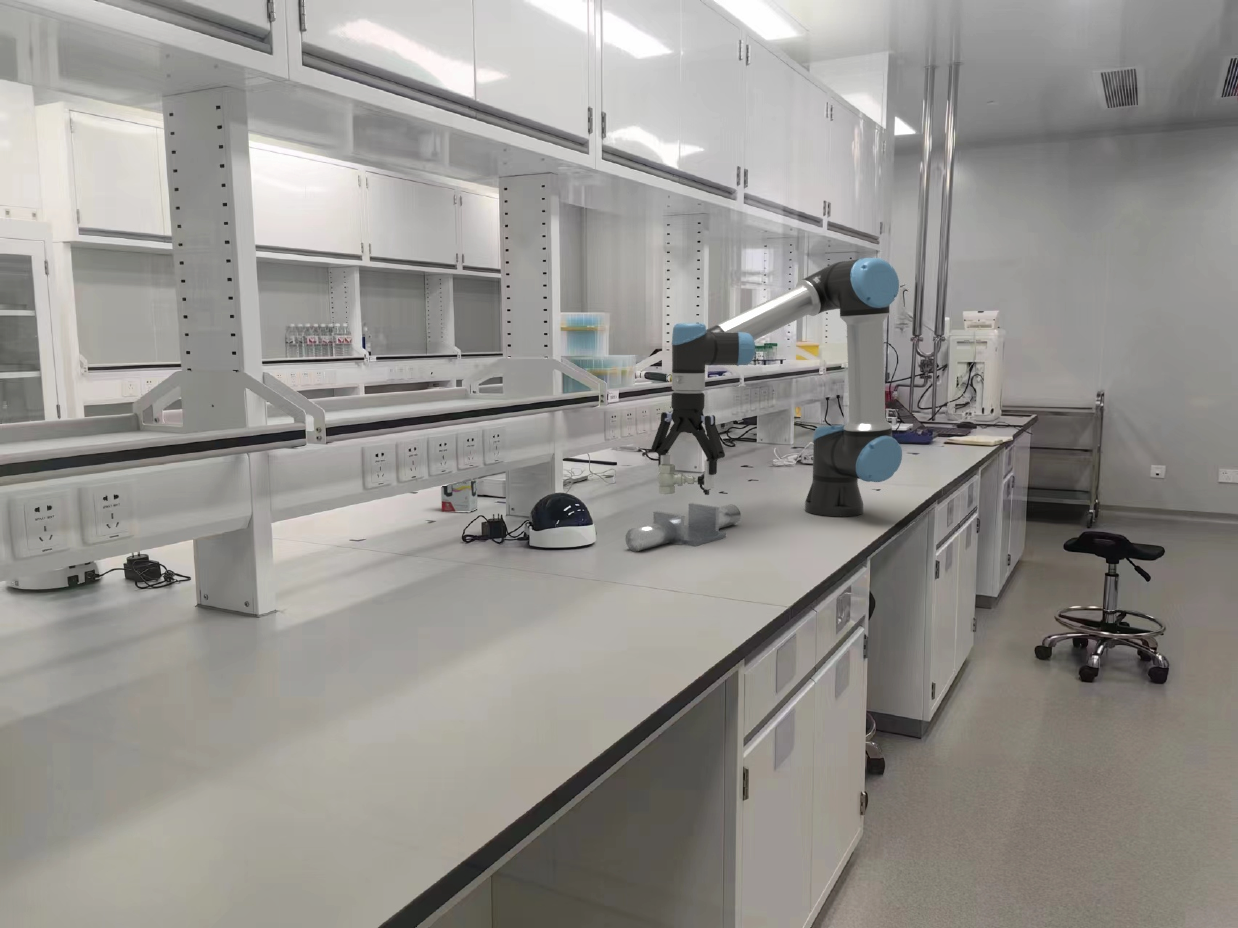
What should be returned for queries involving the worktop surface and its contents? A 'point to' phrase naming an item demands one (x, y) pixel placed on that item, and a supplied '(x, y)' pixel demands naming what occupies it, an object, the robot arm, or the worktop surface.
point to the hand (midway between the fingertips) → (686, 485)
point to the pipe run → (684, 527)
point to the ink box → (459, 497)
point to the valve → (675, 479)
